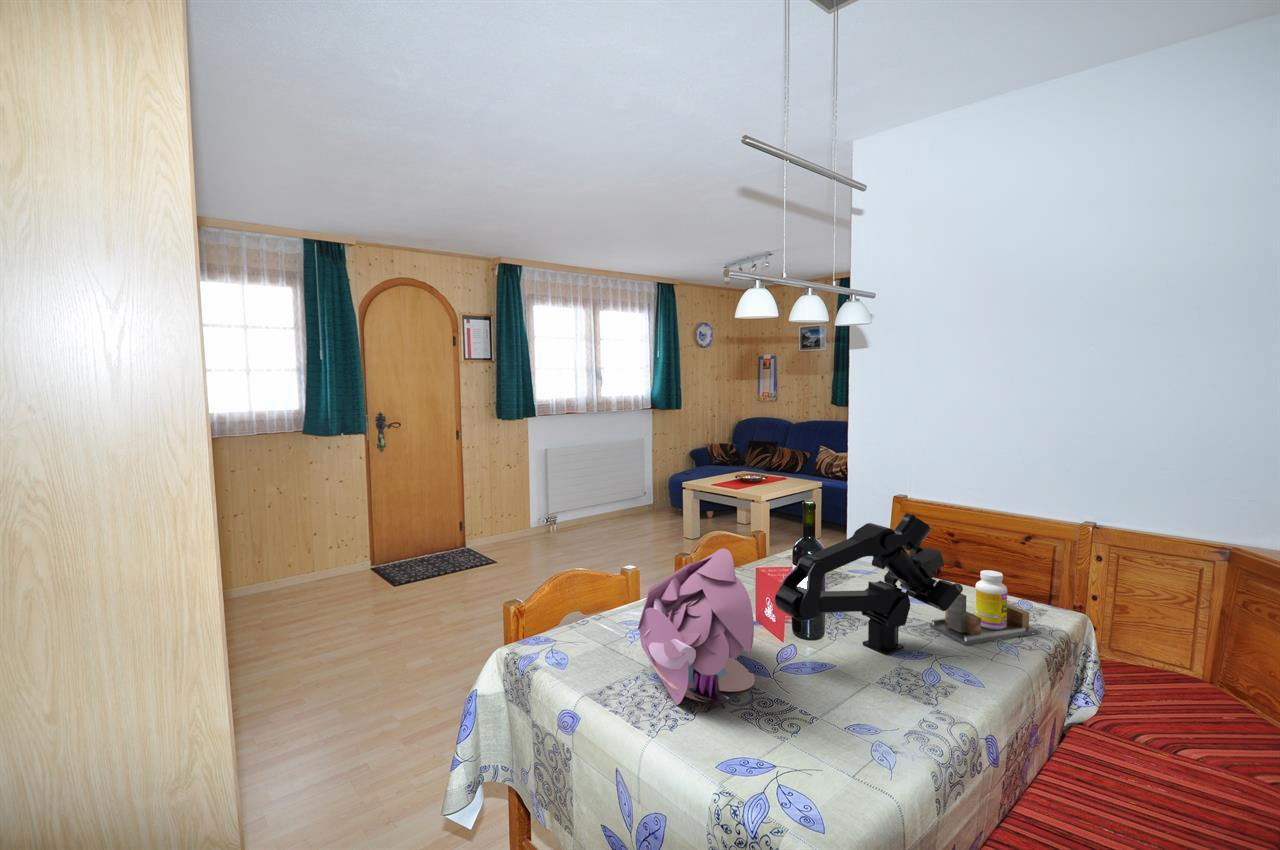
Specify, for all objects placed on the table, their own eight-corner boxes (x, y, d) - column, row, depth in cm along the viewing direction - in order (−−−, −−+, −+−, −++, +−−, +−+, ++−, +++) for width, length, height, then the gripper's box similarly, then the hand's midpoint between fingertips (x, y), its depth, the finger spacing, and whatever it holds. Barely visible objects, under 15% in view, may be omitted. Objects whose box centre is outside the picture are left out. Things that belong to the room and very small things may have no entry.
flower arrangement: (787, 730, 111) (821, 587, 109) (678, 737, 101) (713, 580, 99) (699, 640, 143) (724, 528, 141) (609, 639, 133) (635, 518, 131)
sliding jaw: (966, 637, 135) (967, 589, 135) (938, 622, 144) (939, 578, 143) (980, 634, 136) (981, 587, 136) (951, 620, 145) (952, 576, 144)
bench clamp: (965, 645, 134) (965, 624, 134) (929, 626, 144) (929, 607, 144) (1037, 633, 140) (1038, 613, 139) (997, 616, 150) (998, 597, 150)
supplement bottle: (1005, 633, 138) (1006, 579, 137) (972, 626, 142) (973, 574, 141) (1007, 623, 143) (1008, 571, 142) (976, 617, 147) (977, 567, 146)
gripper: (954, 549, 127) (994, 594, 130) (895, 529, 145) (931, 569, 148) (923, 588, 125) (964, 633, 129) (867, 563, 143) (904, 603, 147)
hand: (940, 607), depth 138 cm, fingers closed
